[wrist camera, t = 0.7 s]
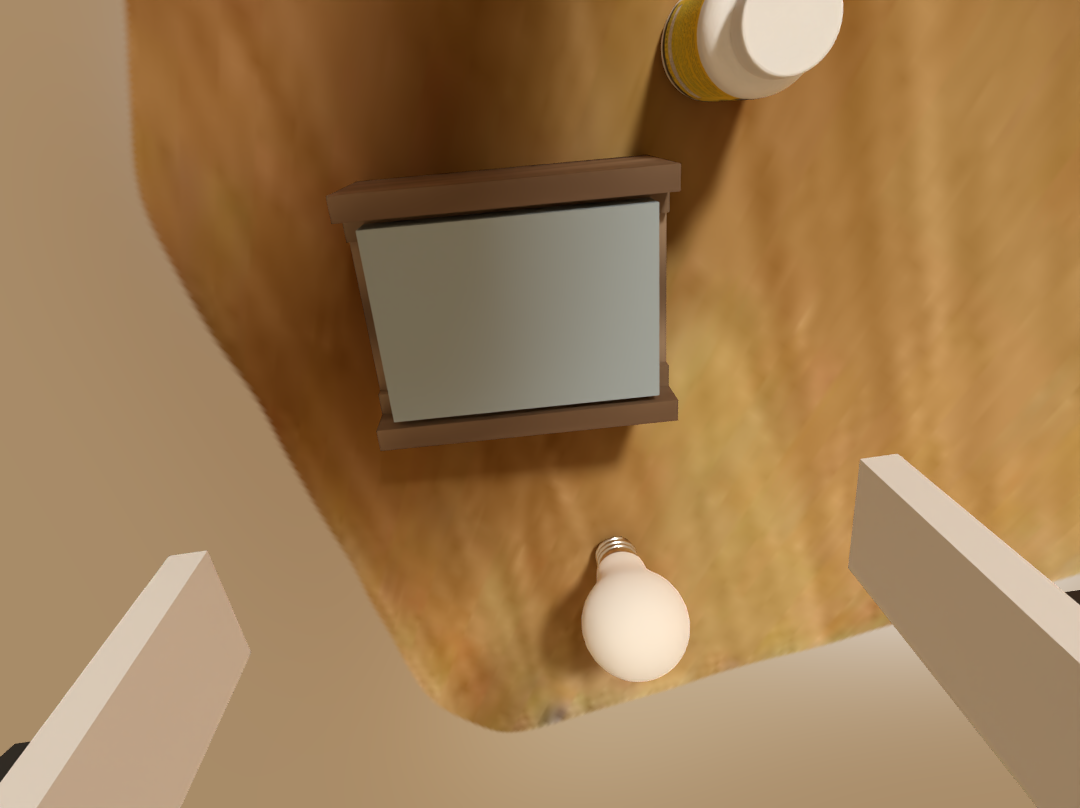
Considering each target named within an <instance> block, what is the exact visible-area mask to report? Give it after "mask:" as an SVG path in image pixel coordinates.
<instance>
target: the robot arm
mask: <svg viewBox="0 0 1080 808" xmlns="http://www.w3.org/2000/svg"><path fill="white" fill-rule="evenodd" d="M848 568H849V570H850V571H851V572H852V573H853V575H854V576H855V577H856V578H857V580H858V581H859V582H860V583H861V585H862V586H863V587H864V589H865V590H866V591H867V592H868V594H869V595H870V596H871V597H872V599H873V600H874V601H875V603H876V604H877V605H878V606H879V608H880V609H881V610H882V611H883V613H884V614H885V615H886V616H887V618H888V619H889V620H890V622H891V623H892V624H893V625H894V627H895V628H896V629H897V630H898V632H899V633H900V634H901V635H902V637H903V638H904V639H905V641H906V642H907V643H908V644H909V645H910V647H911V648H912V649H913V651H914V652H915V653H916V654H917V656H918V657H919V658H920V660H921V661H922V662H923V663H924V665H925V666H926V667H927V668H928V670H929V671H930V672H931V674H932V675H933V676H934V677H935V679H936V680H937V681H938V682H939V684H940V685H941V686H942V687H943V689H944V690H945V691H946V692H947V694H948V695H949V696H950V698H951V699H952V700H953V701H954V703H955V704H956V705H957V707H959V709H960V710H961V711H962V713H963V714H964V715H965V717H966V718H967V719H968V720H969V722H970V723H971V724H972V725H973V727H974V728H975V729H976V731H977V732H978V733H979V734H980V736H981V737H982V738H983V739H984V741H985V742H986V743H987V744H988V746H989V747H990V748H991V750H992V751H993V752H994V753H995V755H996V756H997V757H998V758H999V760H1000V761H1001V762H1002V764H1003V765H1004V766H1005V767H1006V769H1007V770H1008V771H1009V772H1010V774H1011V775H1012V776H1013V778H1014V779H1015V780H1016V781H1017V782H1018V784H1019V785H1020V786H1021V788H1022V789H1023V790H1024V792H1025V793H1026V794H1027V795H1028V797H1029V798H1030V799H1031V800H1032V802H1033V803H1034V804H1035V805H1036V807H1037V808H1080V590H1077V591H1070V592H1063V591H1062V590H1061V589H1060V588H1059V587H1057V586H1056V585H1055V584H1054V583H1053V582H1051V581H1050V580H1049V579H1048V578H1047V577H1045V576H1044V575H1043V574H1042V573H1041V572H1039V571H1038V570H1037V569H1036V568H1035V567H1033V566H1032V565H1031V564H1030V563H1029V562H1027V561H1026V560H1025V559H1024V558H1023V557H1021V556H1020V555H1019V554H1018V553H1017V552H1015V551H1014V550H1013V549H1012V548H1011V547H1009V546H1008V545H1007V544H1006V543H1005V542H1003V541H1002V540H1001V539H1000V538H999V537H997V536H996V535H995V534H994V533H992V532H991V531H990V530H989V529H988V528H986V527H985V526H984V525H983V524H982V523H980V522H979V521H978V520H977V519H976V518H974V517H973V516H972V515H971V514H970V513H968V512H967V511H966V510H965V509H964V508H962V507H961V506H960V505H959V504H958V503H956V502H955V501H954V500H953V499H952V498H950V497H949V496H948V495H947V494H946V493H944V492H943V491H942V490H941V489H939V488H938V487H937V486H936V485H935V484H933V483H932V482H931V481H930V480H929V479H927V478H926V477H925V476H924V475H923V474H921V473H920V472H919V471H918V470H917V469H915V468H914V467H913V466H912V465H911V464H909V463H908V462H907V461H906V460H905V459H903V458H902V457H901V456H900V455H899V454H893V455H886V456H879V457H871V458H864V459H860V464H859V473H858V483H857V492H856V501H855V510H854V519H853V528H852V537H851V546H850V555H849V565H848ZM250 654H251V651H250V648H249V646H248V644H247V641H246V639H245V637H244V634H243V632H242V630H241V627H240V625H239V623H238V621H237V618H236V616H235V613H234V611H233V609H232V606H231V604H230V602H229V599H228V597H227V595H226V592H225V590H224V588H223V585H222V583H221V581H220V578H219V576H218V574H217V571H216V569H215V567H214V564H213V562H212V560H211V558H210V555H209V553H208V551H200V552H193V553H185V554H178V555H171V556H168V558H167V559H166V561H165V562H164V563H163V564H162V566H161V567H160V569H159V570H158V571H157V573H156V574H155V575H154V577H153V578H152V579H151V581H150V582H149V584H148V585H147V586H146V587H145V589H144V590H143V591H142V593H141V594H140V595H139V597H138V598H137V599H136V601H135V602H134V604H133V605H132V606H131V608H130V609H129V610H128V612H127V613H126V614H125V616H124V617H123V618H122V620H121V621H120V622H119V624H118V625H117V626H116V628H115V629H114V630H113V632H112V633H111V634H110V636H109V637H108V638H107V640H106V641H105V642H104V644H103V645H102V646H101V648H100V649H99V651H98V652H97V653H96V655H95V656H94V657H93V659H92V660H91V661H90V663H89V664H88V665H87V667H86V668H85V669H84V671H83V672H82V673H81V675H80V676H79V677H78V679H77V680H76V681H75V683H74V684H73V686H72V687H71V688H70V690H69V691H68V692H67V694H66V695H65V696H64V698H63V699H62V700H61V702H60V703H59V704H58V706H57V707H56V708H55V710H54V711H53V712H52V714H51V715H50V717H49V718H48V719H47V720H46V722H45V723H44V725H43V726H42V727H41V728H40V730H39V731H38V733H37V734H36V735H35V737H34V738H33V739H32V741H31V742H25V743H18V744H14V745H13V746H12V747H11V748H10V749H9V750H8V751H6V752H5V753H4V754H3V755H2V756H1V757H0V808H181V805H182V803H183V801H184V798H185V797H186V794H187V792H188V790H189V788H190V786H191V783H192V781H193V779H194V777H195V775H196V772H197V770H198V768H199V766H200V764H201V761H202V759H203V757H204V755H205V753H206V750H207V748H208V746H209V744H210V742H211V740H212V737H213V735H214V733H215V730H216V728H217V726H218V724H219V721H220V720H221V717H222V715H223V713H224V711H225V709H226V706H227V704H228V702H229V700H230V698H231V696H232V693H233V691H234V689H235V687H236V685H237V682H238V680H239V678H240V676H241V674H242V671H243V669H244V667H245V665H246V663H247V660H248V658H249V656H250Z"/></svg>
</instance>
